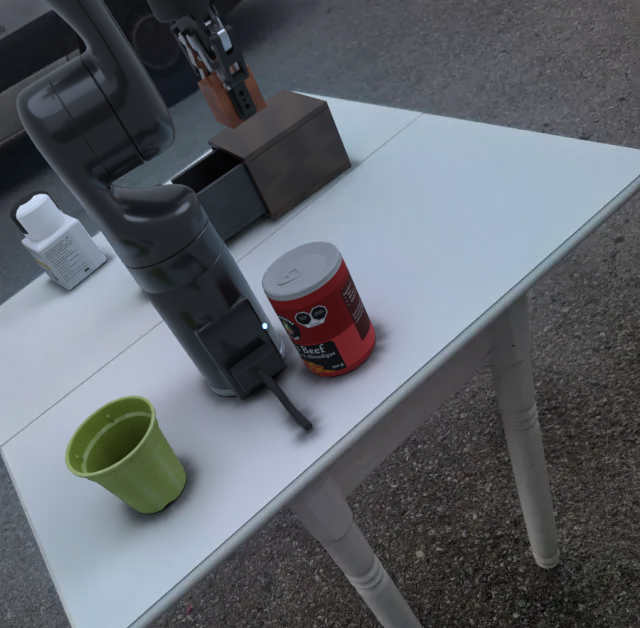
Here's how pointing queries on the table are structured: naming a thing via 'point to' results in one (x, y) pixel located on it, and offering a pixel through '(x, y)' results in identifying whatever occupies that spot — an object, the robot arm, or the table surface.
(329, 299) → the canned food
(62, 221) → the container
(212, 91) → the block
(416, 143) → the table surface
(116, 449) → the plant pot
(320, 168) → the cabinet
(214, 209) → the drawer
